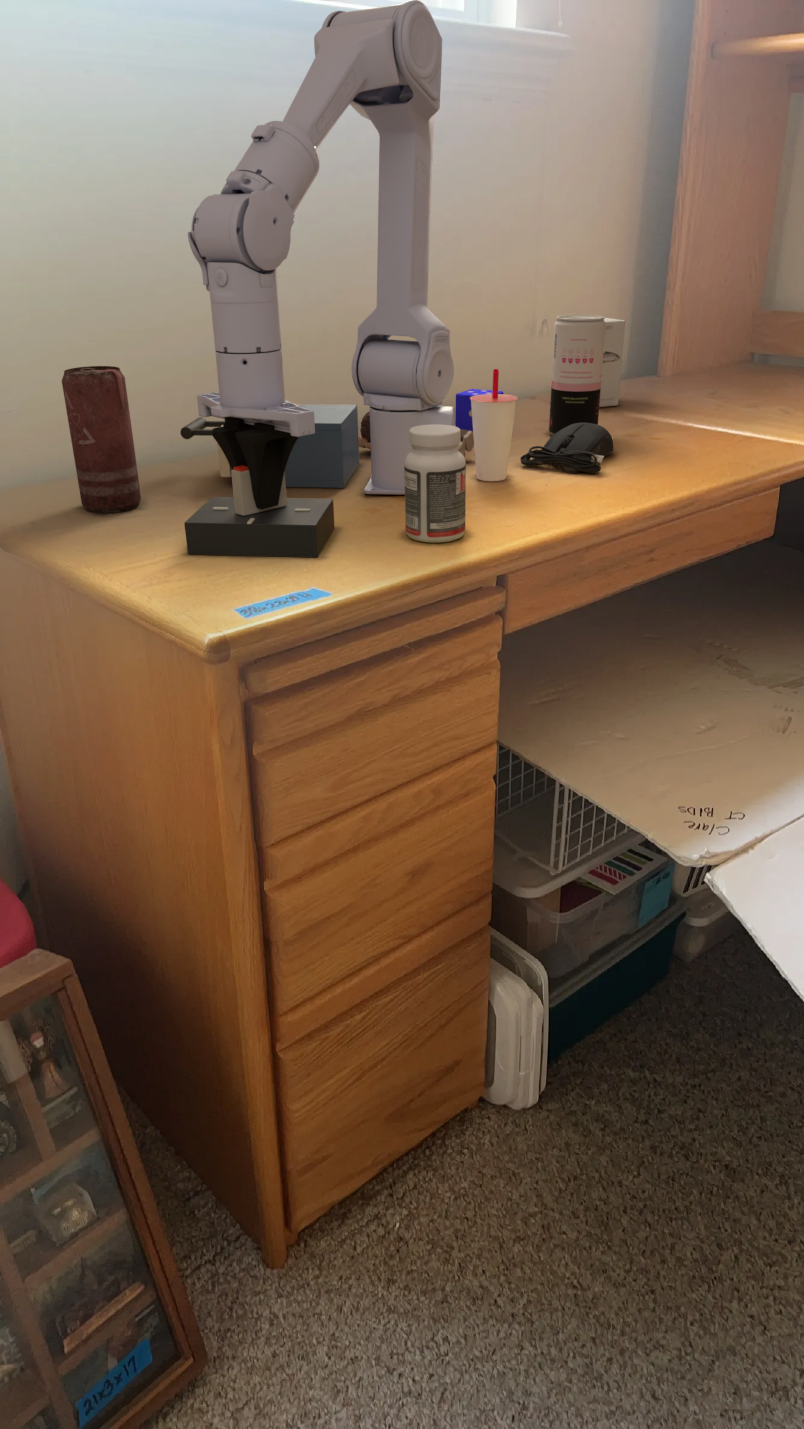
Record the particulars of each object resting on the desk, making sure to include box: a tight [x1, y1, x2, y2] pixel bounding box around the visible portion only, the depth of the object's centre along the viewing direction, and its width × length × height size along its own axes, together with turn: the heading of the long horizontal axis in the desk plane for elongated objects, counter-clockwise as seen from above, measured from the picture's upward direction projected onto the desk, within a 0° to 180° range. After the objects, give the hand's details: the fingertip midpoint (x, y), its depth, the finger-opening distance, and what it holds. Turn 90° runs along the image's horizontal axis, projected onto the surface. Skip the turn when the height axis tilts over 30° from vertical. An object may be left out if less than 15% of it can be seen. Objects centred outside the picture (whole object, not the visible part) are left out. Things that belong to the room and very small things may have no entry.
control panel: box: [183, 496, 335, 558], centre depth 92 cm, size 12×9×3 cm
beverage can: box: [548, 314, 606, 436], centre depth 131 cm, size 7×6×15 cm
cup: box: [470, 368, 519, 482], centre depth 111 cm, size 5×5×12 cm
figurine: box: [358, 410, 474, 459], centre depth 125 cm, size 8×5×15 cm
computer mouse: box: [519, 423, 615, 474], centre depth 121 cm, size 10×15×4 cm
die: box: [455, 388, 504, 432], centre depth 138 cm, size 5×5×5 cm
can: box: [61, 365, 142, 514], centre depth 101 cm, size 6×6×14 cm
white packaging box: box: [599, 317, 626, 408], centre depth 152 cm, size 7×7×13 cm
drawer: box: [179, 416, 232, 478], centre depth 115 cm, size 16×10×5 cm, turn 84°
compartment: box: [285, 403, 360, 489], centre depth 114 cm, size 13×12×7 cm
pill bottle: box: [404, 424, 467, 544], centre depth 92 cm, size 6×6×10 cm
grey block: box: [231, 465, 288, 516], centre depth 91 cm, size 5×1×4 cm, turn 133°
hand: (260, 504), depth 91 cm, fingers closed on grey block
